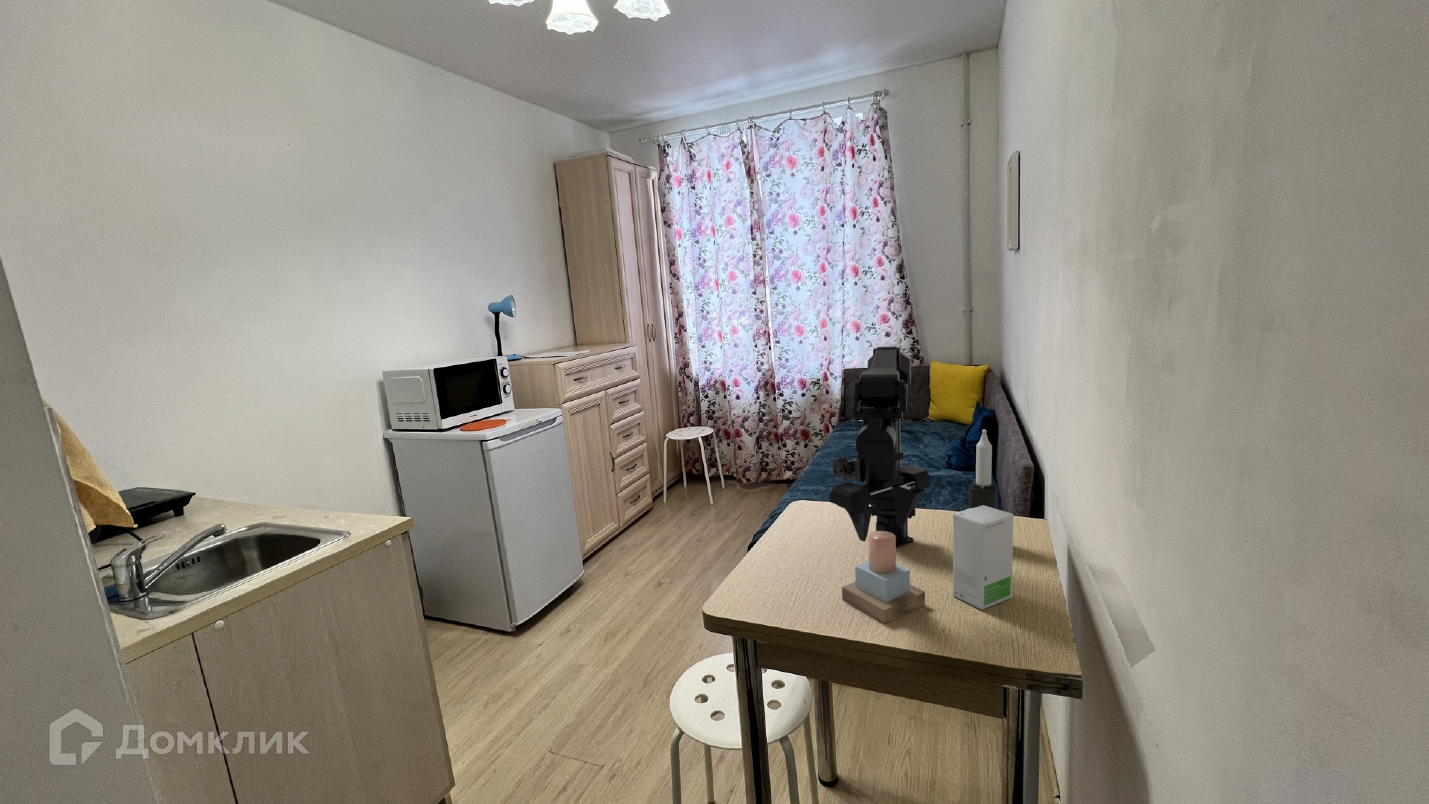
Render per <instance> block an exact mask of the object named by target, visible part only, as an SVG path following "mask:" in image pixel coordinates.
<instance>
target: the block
mask: <svg viewBox="0 0 1429 804" xmlns="http://www.w3.org/2000/svg"><path fill="white" fill-rule="evenodd" d="M854 570H855V571H854V573H855V581H856V587H857V588H859V589H861V590H863V591H865V592H867V593H869V594H871V595H873V596H874V597H876V598H878V599H880V600H882V601H884V602H886V603H887V602H889V601H891V600H893V599H895V598H897V597H899V596H901V595H903V594H905V593H907V592H909V591H910V585H911V580H910V579H911V574H910V573H911V572H910V569H908V568H906V567H904V566H901V565H899V564H897V563H896V571H895V572H894V573H891V574H877V573H874V572H872V571H871V570H870V569H869V560H867V561H865V562H862V563H860V564H857V565H855V569H854Z"/></svg>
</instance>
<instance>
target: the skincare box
mask: <svg viewBox="0 0 1429 804" xmlns="http://www.w3.org/2000/svg"><path fill="white" fill-rule="evenodd" d="M952 516H953V517H952V518H953V519H952V521H953V532H952V533H953V541H952V543H953V546H952V547H953V549H952V550H953V552H952V557H953V558H952V562H953V563H952V596H953V597H955V598H957V599H958V600H961V601H962V602H965V603H966V604H969V605H970V606H972V607H974V608H977V609H979V610H985V609H987V608H990V607H993V606H995V605H997V604H999V603H1002V602H1004V601H1007V600H1009V599H1011V598H1012V597H1013V550H1014V547H1013V546H1014V545H1013V544H1014V543H1013V542H1014V516H1015V515H1014V514H1013V513H1012V512H1007V511H1005V510H1001V509H998V508H997V509H994V508H991V507H988V506H984V505H983V506H979V507H975V508H969V507H968V508H966V509H965V510H961V511H958V512H954V513H953V514H952Z"/></svg>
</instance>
